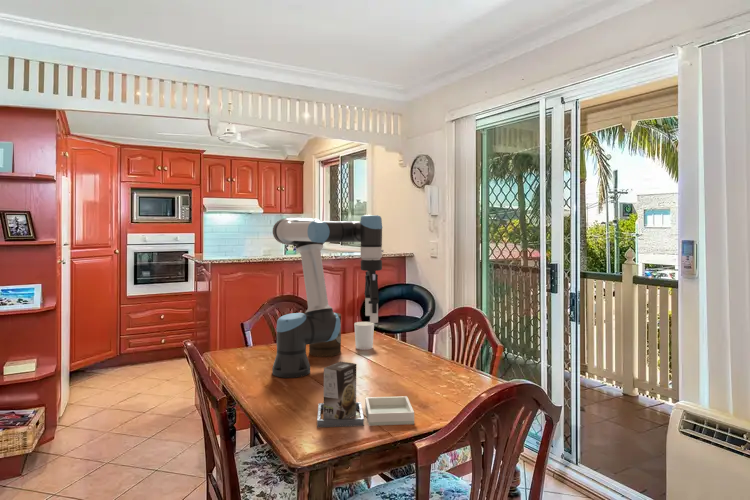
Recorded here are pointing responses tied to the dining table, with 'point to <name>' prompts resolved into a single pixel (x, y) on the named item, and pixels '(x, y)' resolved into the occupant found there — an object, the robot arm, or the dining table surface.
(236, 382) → the dining table surface
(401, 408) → the tray
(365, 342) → the candle holder
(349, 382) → the coffee box
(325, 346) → the wooden container
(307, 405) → the dining table surface
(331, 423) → the socket collar
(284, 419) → the dining table surface
